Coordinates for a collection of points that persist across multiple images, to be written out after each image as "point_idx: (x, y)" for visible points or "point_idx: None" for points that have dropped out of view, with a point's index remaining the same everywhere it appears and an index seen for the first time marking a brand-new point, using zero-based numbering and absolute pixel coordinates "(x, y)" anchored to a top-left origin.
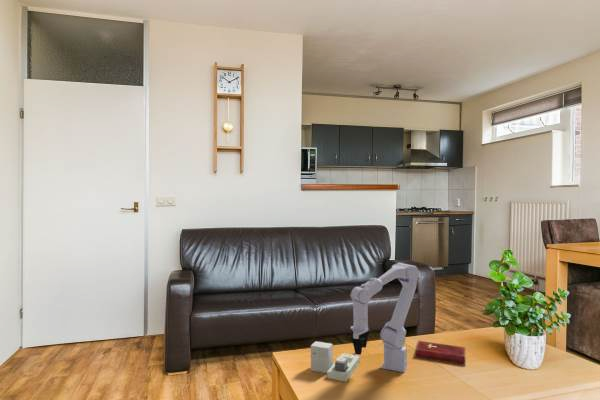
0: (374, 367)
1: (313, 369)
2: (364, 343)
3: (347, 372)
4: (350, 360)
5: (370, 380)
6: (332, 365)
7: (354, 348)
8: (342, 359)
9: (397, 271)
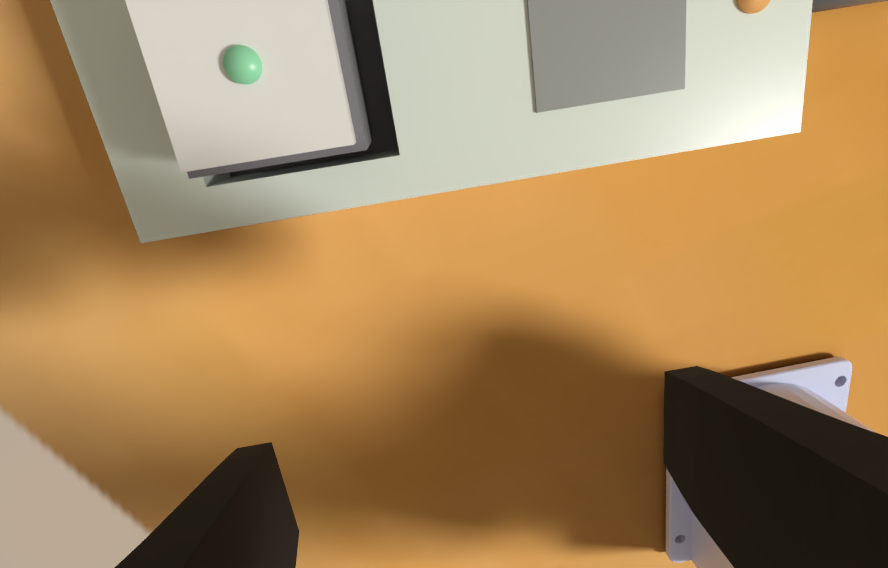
0: (665, 324)
1: None
2: (725, 515)
3: (225, 217)
4: (601, 81)
5: (370, 406)
6: None
7: (140, 551)
8: (254, 92)
9: None
